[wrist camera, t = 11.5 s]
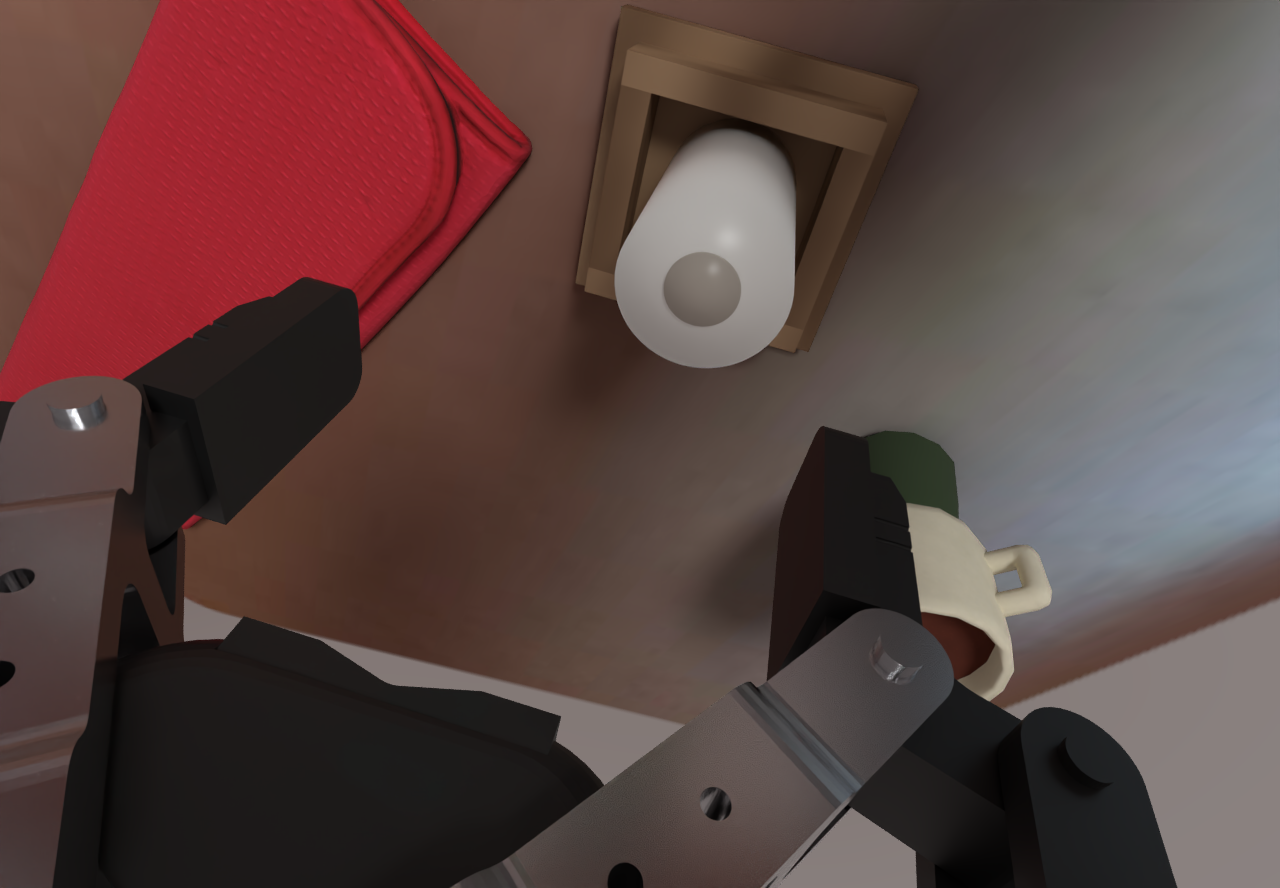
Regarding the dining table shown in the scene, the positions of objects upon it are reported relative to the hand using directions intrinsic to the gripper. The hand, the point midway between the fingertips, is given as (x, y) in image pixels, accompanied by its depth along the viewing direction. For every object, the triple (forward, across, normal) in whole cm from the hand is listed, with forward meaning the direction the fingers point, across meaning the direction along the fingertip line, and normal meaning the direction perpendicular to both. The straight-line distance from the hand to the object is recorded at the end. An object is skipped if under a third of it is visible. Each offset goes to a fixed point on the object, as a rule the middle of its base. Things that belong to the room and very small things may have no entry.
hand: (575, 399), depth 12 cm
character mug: (+23, -14, +15) cm, 31 cm away
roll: (+22, -1, +3) cm, 22 cm away
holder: (+23, -1, +3) cm, 23 cm away
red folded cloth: (+23, +26, +16) cm, 38 cm away
